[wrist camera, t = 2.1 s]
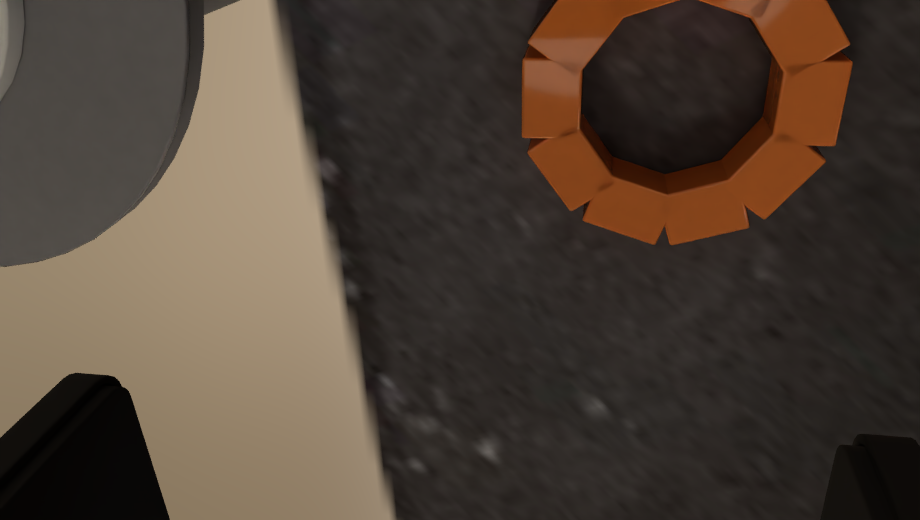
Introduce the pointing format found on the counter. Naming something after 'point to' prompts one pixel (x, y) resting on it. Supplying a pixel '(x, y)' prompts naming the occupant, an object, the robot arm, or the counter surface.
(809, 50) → the ring
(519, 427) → the counter surface
